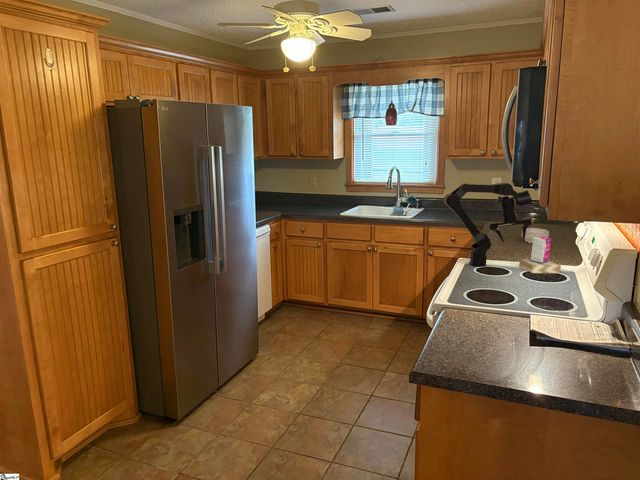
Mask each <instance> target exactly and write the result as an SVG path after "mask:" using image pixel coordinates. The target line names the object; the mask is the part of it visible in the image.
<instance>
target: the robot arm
mask: <svg viewBox="0 0 640 480" xmlns="http://www.w3.org/2000/svg"><path fill="white" fill-rule="evenodd" d="M467 193H484V194H485V193H490V194H496V195H499V196H497V198H496V199H495V202H497V203H500V206H501V211H502V213H501V219H502V220H503V222H500V220H498V221H492V222H490V224H489V230H490V231H493V232H495V233H496V234H497V235H498V236H499V238H500V240H501V241H502V243H505V238H504V234H503V231H502V227H509V226H516V225H522V229H521V231H522V230H523V237H522V239H523V241H525V235H526V230H527V228H530V226H533V223H534V220H533V217H532V216H528V217H522V219H520V220H519V218H518V217H519V215H518V213H517V212H516V208H515V207H516V206H517V207H518V208H520V207H525V206H529V205H532V203H533V202H532V201H533V200H532V197H531V194H530V193H529V190H523V191H519V192H517V191H516V190H515V189H514V188H513V185H512V183H508V182H498V183H493V184H492V183H491V184H481V183H479V184H476V183H465V182H464V183H462V184H460V185H459V186H458V187H457V188H456V189H454V190H453V191H452V192H450V193H447V194H446V195H444V197H443V203H444V204H445V205H446V206H447V207H448V208H449V209H450V210H452V212H454V213H455V214H456V216H457V217H458V219H460V221H461V223H462V224H463V225H464V227H465V229H467V230H468V232H469V234H470V235H471V237H472V239H473V241H474V243H473V244H471V246H470V249H471V252H470V259H469V262H468V264H469V263H470V265H471V266H472V267H487V259H488V258H487V253H488V250H490V249H491V247H492V242H491V238H489V237H488V234H487V233H486V232H485V231H480V230H479V229H478V228H477V226H476V225H475V224H474V222H473V221H472V219H470V217H469V216H468V214H467V213H466V211H465V210H464V208H463V206H462V204H461V201H460V200H461V199H462V198H463V197H464V196H465V195H466V194H467ZM500 195H501V196H500ZM509 196H510V197H509Z"/></svg>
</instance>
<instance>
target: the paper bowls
mask: <svg viewBox="0 0 640 480" xmlns="http://www.w3.org/2000/svg"><path fill="white" fill-rule="evenodd" d="M520 236H521V238H523V230H522V229H521V235H520ZM549 236H550V231H549V230H548V229H544V228H538V227H527V230H526V235H525V240H524V241H525V243H527V242H528V243H529V244H532V243H533V238H534V237H545V238H549Z"/></svg>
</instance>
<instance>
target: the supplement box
mask: <svg viewBox="0 0 640 480" xmlns="http://www.w3.org/2000/svg"><path fill="white" fill-rule="evenodd" d="M551 242H552V238H551V237H550V238H545V237H534V238H533V244H532V246H531V255H530V259H531V262H536V263H541V264H542V263H546V262H548V260H549V258H550V252H551V251H550V250H551ZM549 261H550V260H549Z"/></svg>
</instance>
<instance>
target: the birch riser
mask: <svg viewBox="0 0 640 480" xmlns="http://www.w3.org/2000/svg"><path fill="white" fill-rule="evenodd" d="M519 267H520V268H521V269H523V270H525V271H528V272H530V273H531V274H561V269H562V265H560V264H558V263H556V262H553V261H552V260H548V262H546V263H542V264H541V263H536V262H531V258H530V259H529V258H528V259H527V258H522V259H521V258H520V259H519Z"/></svg>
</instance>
